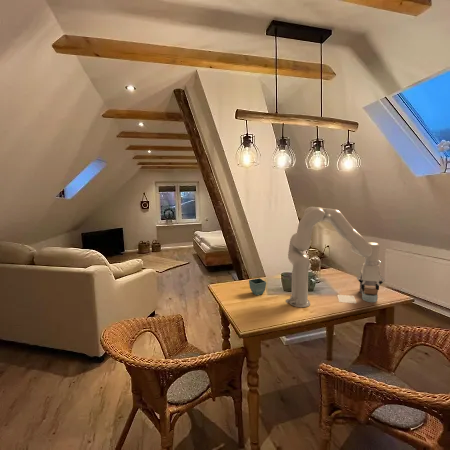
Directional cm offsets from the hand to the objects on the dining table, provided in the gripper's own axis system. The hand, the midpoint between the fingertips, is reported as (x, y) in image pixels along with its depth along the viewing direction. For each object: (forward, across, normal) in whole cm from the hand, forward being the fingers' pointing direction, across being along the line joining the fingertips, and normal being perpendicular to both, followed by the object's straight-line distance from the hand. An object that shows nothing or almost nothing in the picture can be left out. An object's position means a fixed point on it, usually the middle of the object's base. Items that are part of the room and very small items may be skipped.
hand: (369, 290), depth 174 cm
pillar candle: (+7, -1, -12) cm, 14 cm away
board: (+1, 0, 0) cm, 1 cm away
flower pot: (+7, +69, +6) cm, 70 cm away
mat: (+6, +13, +2) cm, 15 cm away
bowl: (+6, 0, 0) cm, 6 cm away
